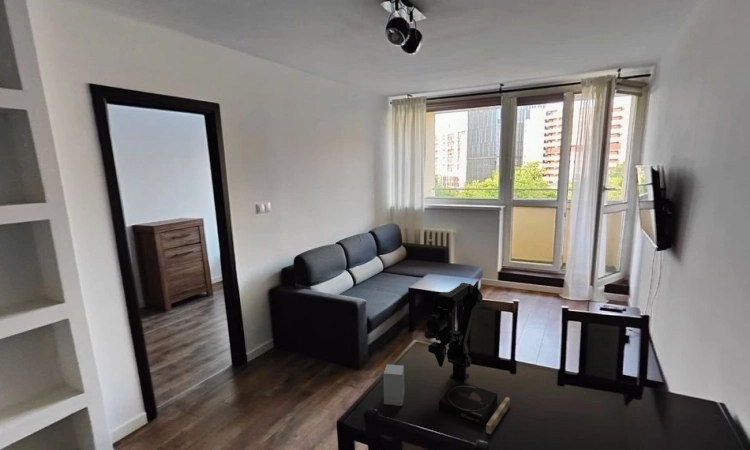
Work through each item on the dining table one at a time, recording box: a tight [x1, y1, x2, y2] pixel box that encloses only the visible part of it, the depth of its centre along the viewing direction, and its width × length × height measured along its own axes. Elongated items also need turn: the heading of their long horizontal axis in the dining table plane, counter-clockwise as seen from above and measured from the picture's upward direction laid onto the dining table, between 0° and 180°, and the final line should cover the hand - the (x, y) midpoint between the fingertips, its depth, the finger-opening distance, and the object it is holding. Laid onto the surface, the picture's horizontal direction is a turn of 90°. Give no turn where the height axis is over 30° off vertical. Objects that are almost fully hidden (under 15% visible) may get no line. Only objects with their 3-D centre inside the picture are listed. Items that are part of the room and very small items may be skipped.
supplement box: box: [383, 363, 405, 406], centre depth 137 cm, size 7×7×13 cm
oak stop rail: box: [485, 396, 511, 435], centre depth 125 cm, size 19×1×3 cm, turn 141°
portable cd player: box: [438, 380, 498, 428], centre depth 132 cm, size 16×17×4 cm
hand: (446, 361), depth 142 cm, fingers open, 9 cm apart
